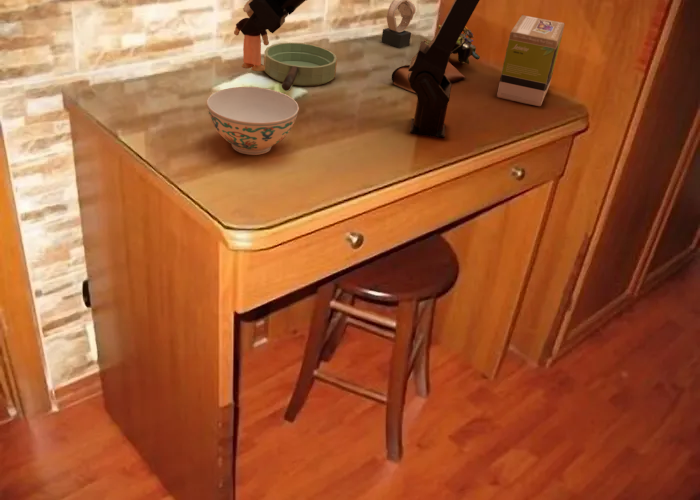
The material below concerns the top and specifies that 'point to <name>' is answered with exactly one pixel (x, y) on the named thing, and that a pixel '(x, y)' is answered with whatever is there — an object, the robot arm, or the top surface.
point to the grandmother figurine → (251, 43)
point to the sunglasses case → (402, 73)
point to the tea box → (530, 60)
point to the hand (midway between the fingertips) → (244, 30)
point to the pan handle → (290, 78)
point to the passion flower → (464, 47)
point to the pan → (300, 63)
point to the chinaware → (252, 117)
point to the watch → (398, 34)
